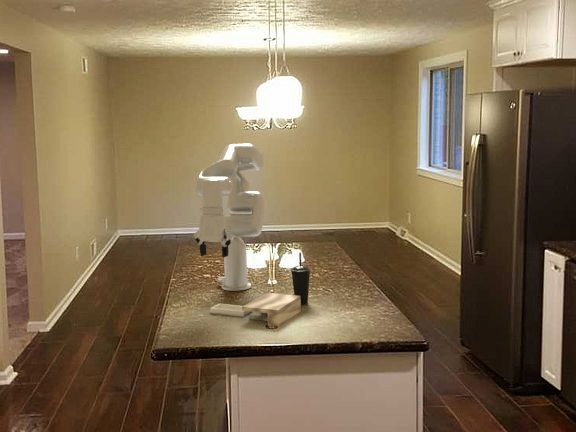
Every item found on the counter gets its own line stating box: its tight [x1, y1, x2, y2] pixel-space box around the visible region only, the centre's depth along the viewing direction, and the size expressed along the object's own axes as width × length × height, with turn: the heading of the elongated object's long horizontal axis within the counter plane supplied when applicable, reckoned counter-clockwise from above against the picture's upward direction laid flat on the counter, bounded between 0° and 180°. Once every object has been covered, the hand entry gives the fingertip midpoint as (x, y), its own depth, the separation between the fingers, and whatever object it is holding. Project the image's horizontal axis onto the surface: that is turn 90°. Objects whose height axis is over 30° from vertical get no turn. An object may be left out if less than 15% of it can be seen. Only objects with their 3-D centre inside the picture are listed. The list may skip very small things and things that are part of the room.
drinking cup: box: [290, 252, 311, 306], centre depth 277 cm, size 8×8×20 cm
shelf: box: [241, 292, 302, 328], centre depth 261 cm, size 14×20×6 cm
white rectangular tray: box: [209, 303, 252, 318], centre depth 269 cm, size 14×7×2 cm, turn 66°
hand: (214, 256), depth 274 cm, fingers open, 9 cm apart
